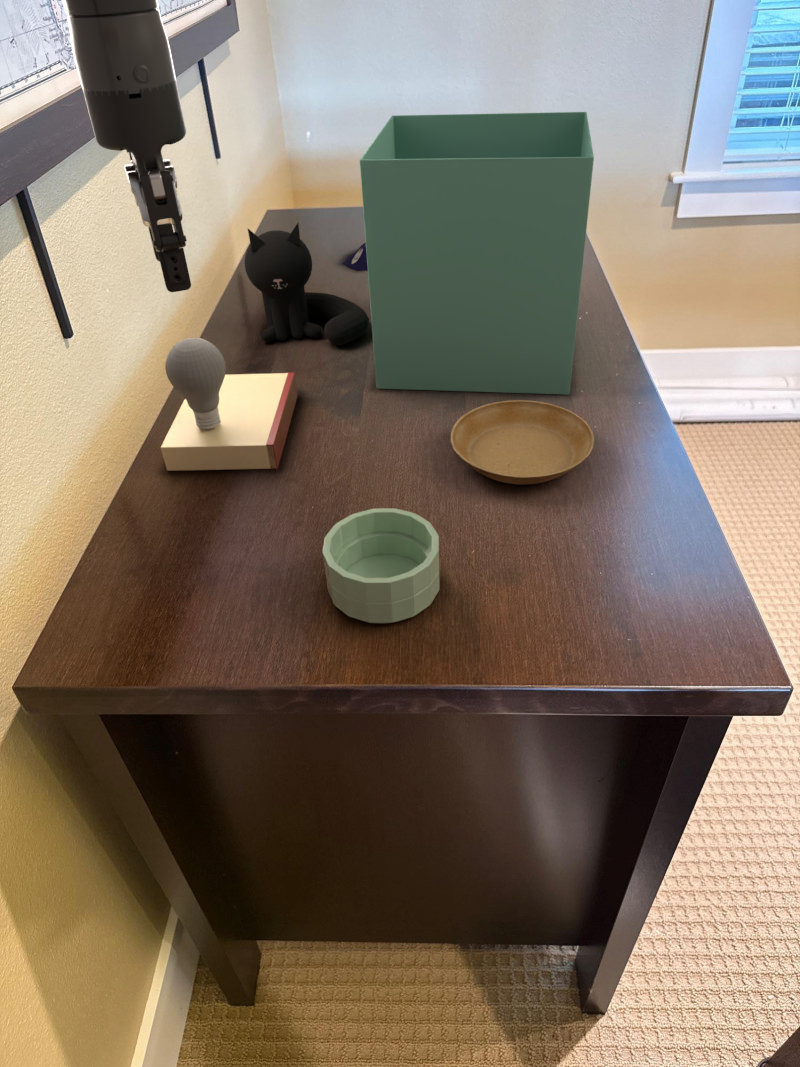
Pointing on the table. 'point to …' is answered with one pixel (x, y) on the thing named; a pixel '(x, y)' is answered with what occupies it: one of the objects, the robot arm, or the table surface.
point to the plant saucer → (522, 441)
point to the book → (236, 426)
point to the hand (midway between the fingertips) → (173, 274)
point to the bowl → (382, 565)
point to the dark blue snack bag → (357, 259)
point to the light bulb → (198, 378)
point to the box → (476, 249)
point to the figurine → (297, 291)
